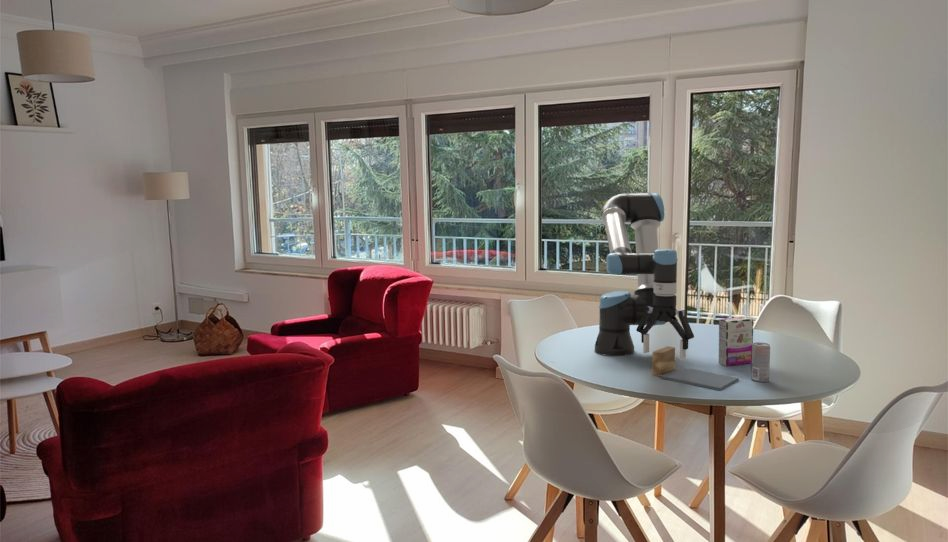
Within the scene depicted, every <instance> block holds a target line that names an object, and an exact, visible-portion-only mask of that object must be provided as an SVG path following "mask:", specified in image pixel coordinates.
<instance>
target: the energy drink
mask: <svg viewBox="0 0 948 542" xmlns="http://www.w3.org/2000/svg"><path fill="white" fill-rule="evenodd" d="M770 360H771V345H770V344H769V343H766V342H753V346H752V363H751V373H750V374H751V376H750V377H751V380H752V381H754V382H757V383H766V382H769V381H770V367H771V366H770V365H771V361H770Z"/></svg>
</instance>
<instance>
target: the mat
mask: <svg viewBox="0 0 948 542" xmlns="http://www.w3.org/2000/svg"><path fill="white" fill-rule="evenodd" d="M661 379H663V380H669V381H674V382H678V383H684V384H688V385H692V386H698V387H702V388H706V389H711V390H715V391H716V390H717V391H722V390H724V389H725V388H727V387H729V386H731V385H733V384H735V383H736V382H738V381H740V380H739V377H736V376H729V375H726V374H721V373H715V372H709V371H706V370H705V371H703V370H699V369H693V368H690V367H689V368H688V367H684V366H680V367H678V368H676V369H675V370H673V371H671V372H668V373H666V374H664V375H662V376H661Z"/></svg>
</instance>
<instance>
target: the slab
mask: <svg viewBox="0 0 948 542" xmlns="http://www.w3.org/2000/svg"><path fill="white" fill-rule="evenodd" d="M675 358H676V346H675V347H673V346H668V345H667V346H663V347H662V348H659V349H657V350H656V349H655V350H654V351H652V366H651V367H652V368H651V369H652V370H651V371H652V375H653V374H655V375H654V376H658V375H659V377H662V376H661V375H664V374H667V373H669V372H670V371H673V370H676V369H675V366H676V363H675V361H676V360H675Z"/></svg>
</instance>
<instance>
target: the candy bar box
mask: <svg viewBox="0 0 948 542" xmlns="http://www.w3.org/2000/svg"><path fill="white" fill-rule="evenodd" d="M753 343H754V318H751V317H748V316H741V317H739V316H738V317H731V318H721V319H718V364H719V365H721V366H725V367H733V366H741V365H743V366H744V365H750V364H751V365H752V346H753Z"/></svg>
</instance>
